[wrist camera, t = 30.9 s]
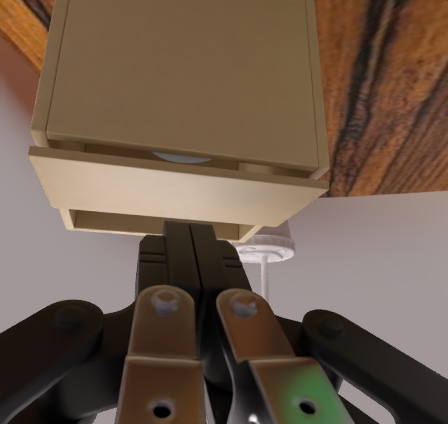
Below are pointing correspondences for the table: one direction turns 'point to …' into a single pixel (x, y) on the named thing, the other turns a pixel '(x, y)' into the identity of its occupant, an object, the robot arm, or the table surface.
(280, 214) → the flap
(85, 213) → the carton
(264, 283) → the smoothie
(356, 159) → the table surface
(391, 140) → the table surface
